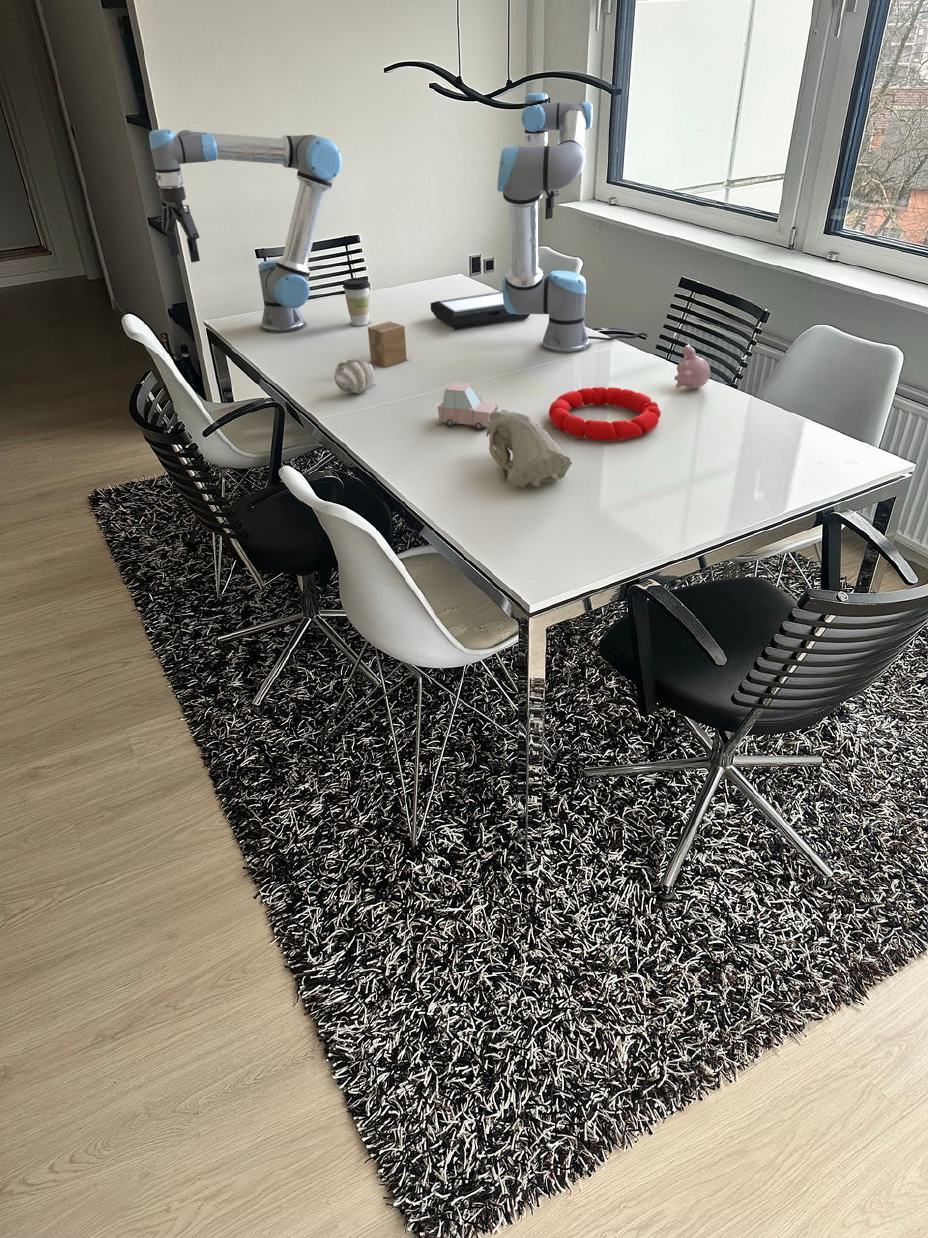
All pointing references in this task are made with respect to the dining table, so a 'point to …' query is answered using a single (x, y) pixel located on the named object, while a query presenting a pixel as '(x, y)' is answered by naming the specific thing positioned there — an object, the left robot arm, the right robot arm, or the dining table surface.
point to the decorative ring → (604, 428)
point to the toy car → (465, 406)
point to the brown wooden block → (387, 344)
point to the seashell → (354, 376)
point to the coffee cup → (357, 300)
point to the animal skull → (525, 450)
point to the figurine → (692, 370)
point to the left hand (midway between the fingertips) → (185, 258)
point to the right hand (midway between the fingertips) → (534, 215)
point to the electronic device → (474, 311)
